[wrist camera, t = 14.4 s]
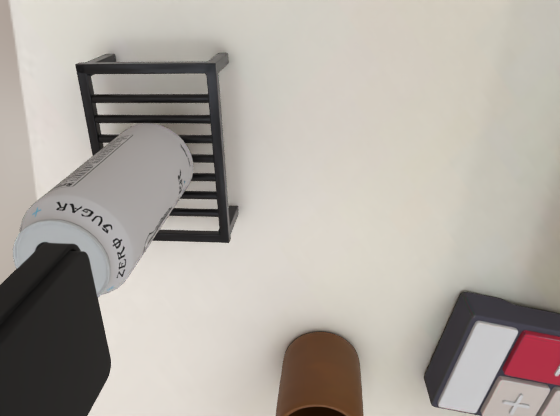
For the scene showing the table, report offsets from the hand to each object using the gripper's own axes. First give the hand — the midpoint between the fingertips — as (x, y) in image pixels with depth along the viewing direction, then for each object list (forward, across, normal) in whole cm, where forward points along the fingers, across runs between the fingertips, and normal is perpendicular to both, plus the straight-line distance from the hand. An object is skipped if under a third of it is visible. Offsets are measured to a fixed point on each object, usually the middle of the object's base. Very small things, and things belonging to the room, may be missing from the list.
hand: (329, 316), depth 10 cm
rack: (+32, +13, +7) cm, 36 cm away
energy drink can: (+28, +13, +7) cm, 31 cm away
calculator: (+32, -18, +28) cm, 47 cm away
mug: (+32, +1, +32) cm, 46 cm away
